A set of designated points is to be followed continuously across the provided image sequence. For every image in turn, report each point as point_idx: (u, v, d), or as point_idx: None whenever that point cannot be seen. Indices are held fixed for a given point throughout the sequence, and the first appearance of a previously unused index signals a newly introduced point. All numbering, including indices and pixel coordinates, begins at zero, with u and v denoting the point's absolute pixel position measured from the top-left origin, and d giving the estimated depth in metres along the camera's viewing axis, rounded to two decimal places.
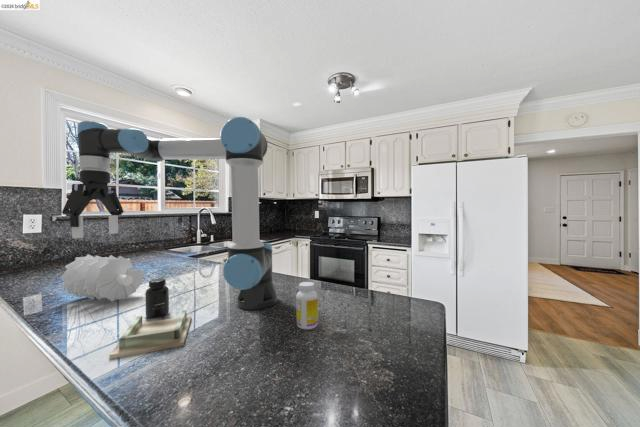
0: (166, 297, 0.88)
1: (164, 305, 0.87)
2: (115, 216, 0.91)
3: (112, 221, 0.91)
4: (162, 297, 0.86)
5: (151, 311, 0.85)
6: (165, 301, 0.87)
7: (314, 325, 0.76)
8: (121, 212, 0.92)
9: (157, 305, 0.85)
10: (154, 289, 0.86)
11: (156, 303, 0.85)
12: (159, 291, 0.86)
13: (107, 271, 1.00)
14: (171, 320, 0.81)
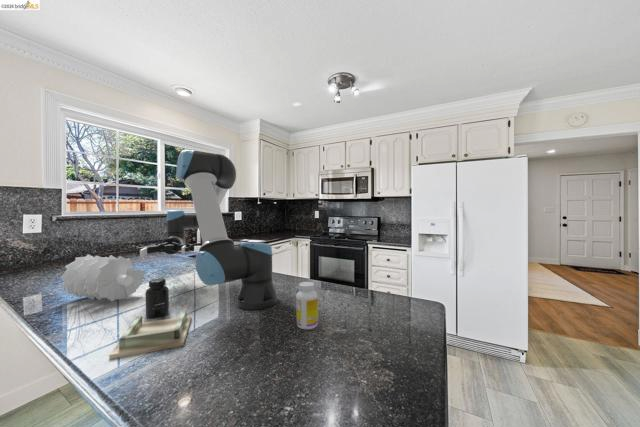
0: (166, 297, 0.88)
1: (164, 305, 0.87)
2: None
3: None
4: (162, 297, 0.86)
5: (151, 311, 0.85)
6: (165, 301, 0.87)
7: (314, 325, 0.76)
8: None
9: (157, 305, 0.85)
10: (154, 289, 0.86)
11: (156, 303, 0.85)
12: (159, 291, 0.86)
13: (107, 271, 1.00)
14: (171, 320, 0.81)
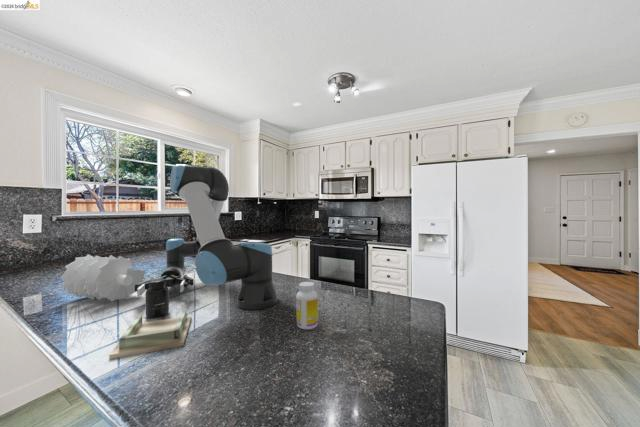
0: (166, 297, 0.88)
1: (164, 305, 0.87)
2: None
3: None
4: (162, 297, 0.86)
5: (151, 311, 0.85)
6: (165, 301, 0.87)
7: (314, 325, 0.76)
8: (187, 278, 1.04)
9: (157, 305, 0.85)
10: (154, 289, 0.86)
11: (156, 303, 0.85)
12: (159, 291, 0.86)
13: (107, 271, 1.00)
14: (171, 320, 0.81)
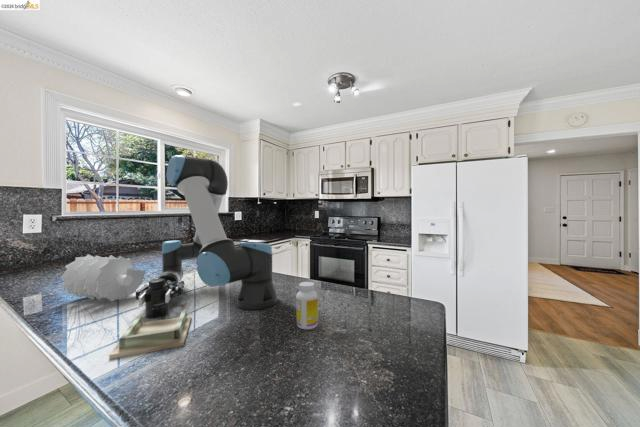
0: None
1: (164, 305, 0.87)
2: (169, 290, 0.90)
3: None
4: (162, 297, 0.86)
5: (151, 311, 0.85)
6: None
7: (314, 325, 0.76)
8: (175, 286, 0.92)
9: (157, 305, 0.85)
10: (154, 289, 0.86)
11: (156, 303, 0.85)
12: (159, 291, 0.86)
13: (107, 271, 1.00)
14: (171, 320, 0.81)
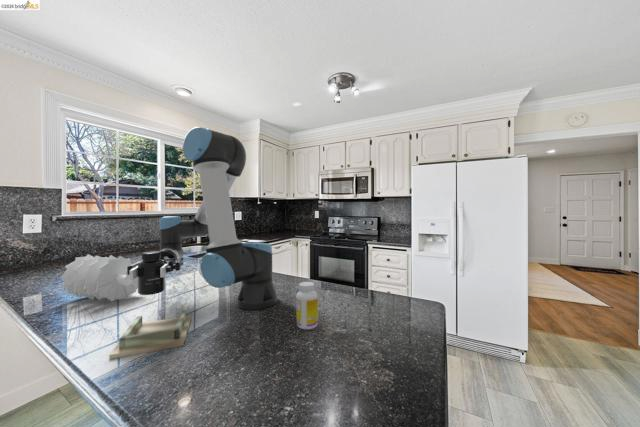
0: None
1: (159, 281, 0.76)
2: None
3: None
4: (157, 271, 0.75)
5: (144, 287, 0.74)
6: None
7: (314, 325, 0.76)
8: (172, 261, 0.81)
9: (151, 280, 0.74)
10: (147, 262, 0.75)
11: (149, 278, 0.74)
12: (154, 264, 0.75)
13: (107, 271, 1.00)
14: (171, 320, 0.81)
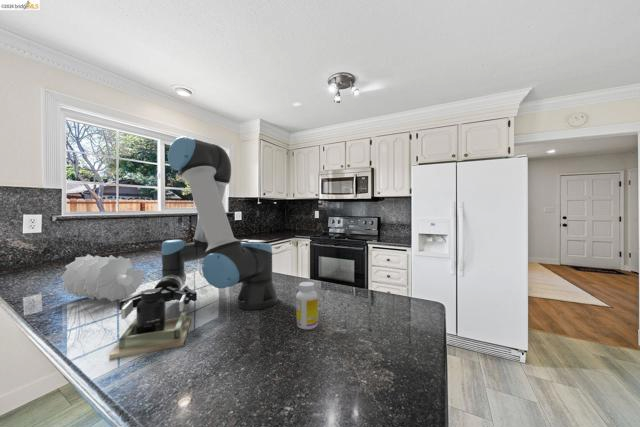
0: (161, 312, 0.72)
1: (159, 322, 0.71)
2: (182, 296, 0.78)
3: None
4: (156, 312, 0.71)
5: (142, 330, 0.69)
6: (160, 317, 0.72)
7: (314, 325, 0.76)
8: (189, 291, 0.80)
9: (150, 322, 0.70)
10: (147, 302, 0.70)
11: (149, 320, 0.70)
12: (153, 305, 0.70)
13: (107, 271, 1.00)
14: (171, 320, 0.81)
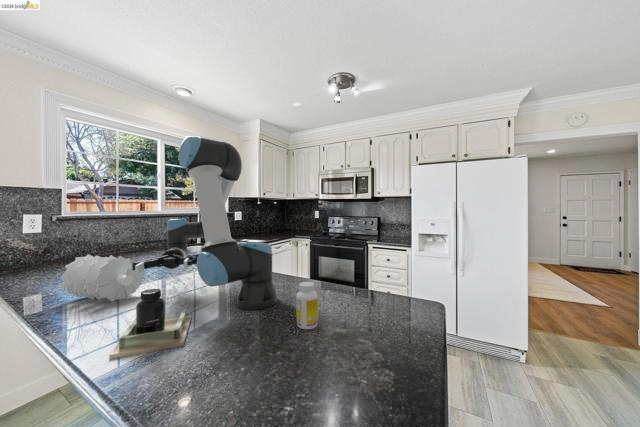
0: (161, 312, 0.72)
1: (158, 322, 0.71)
2: (186, 259, 0.91)
3: None
4: (156, 312, 0.71)
5: (142, 330, 0.69)
6: (160, 317, 0.72)
7: (314, 325, 0.76)
8: (192, 256, 0.93)
9: (149, 322, 0.70)
10: (146, 302, 0.70)
11: (148, 320, 0.70)
12: (153, 305, 0.70)
13: (107, 271, 1.00)
14: (171, 320, 0.81)
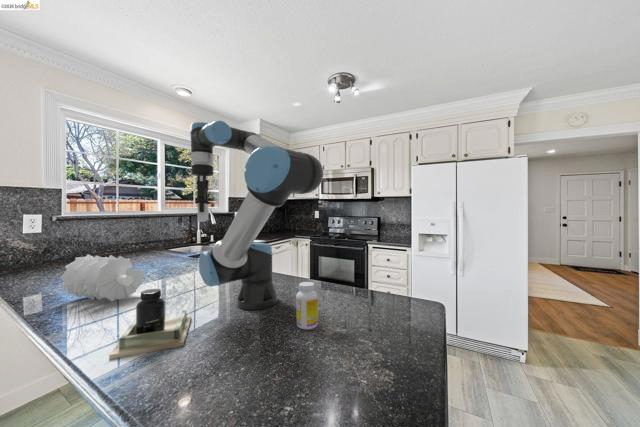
0: (161, 312, 0.72)
1: (158, 322, 0.71)
2: (207, 205, 1.04)
3: None
4: (156, 312, 0.71)
5: (142, 330, 0.69)
6: (160, 317, 0.72)
7: (314, 325, 0.76)
8: None
9: (149, 323, 0.70)
10: (146, 303, 0.70)
11: (148, 320, 0.70)
12: (153, 305, 0.70)
13: (107, 271, 1.00)
14: (171, 320, 0.81)
